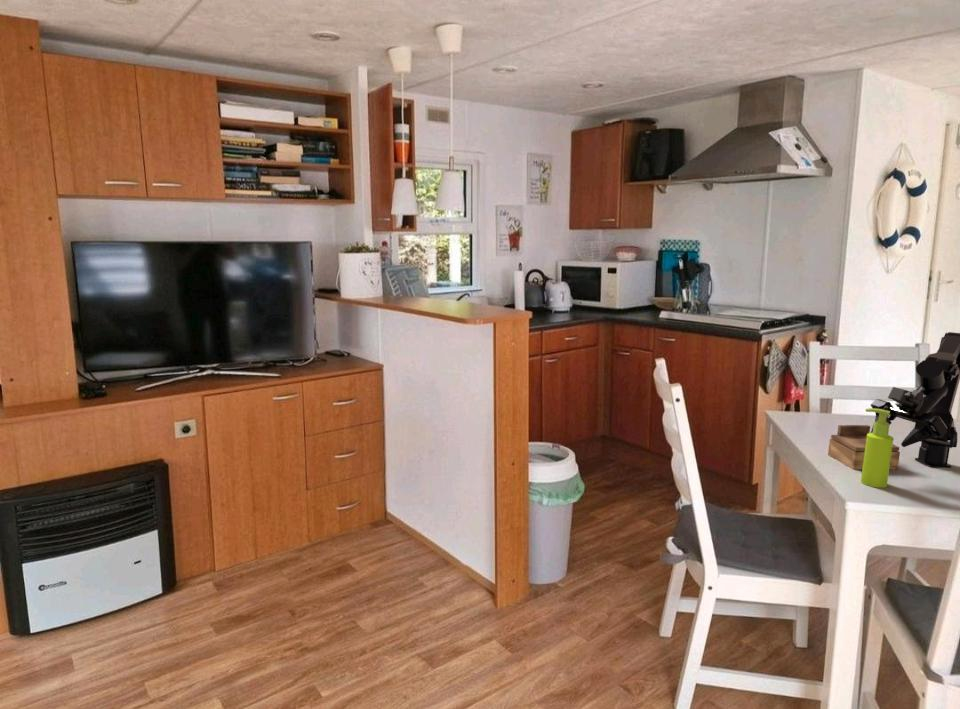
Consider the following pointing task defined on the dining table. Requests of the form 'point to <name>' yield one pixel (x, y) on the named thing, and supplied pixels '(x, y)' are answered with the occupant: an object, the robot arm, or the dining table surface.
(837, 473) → the dining table surface
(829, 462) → the dining table surface
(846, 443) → the lid
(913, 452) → the dining table surface
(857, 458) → the wooden box
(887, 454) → the soap dispenser
